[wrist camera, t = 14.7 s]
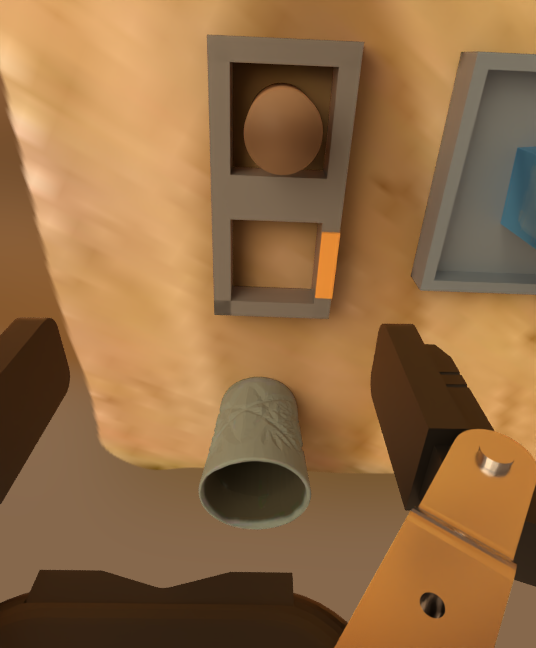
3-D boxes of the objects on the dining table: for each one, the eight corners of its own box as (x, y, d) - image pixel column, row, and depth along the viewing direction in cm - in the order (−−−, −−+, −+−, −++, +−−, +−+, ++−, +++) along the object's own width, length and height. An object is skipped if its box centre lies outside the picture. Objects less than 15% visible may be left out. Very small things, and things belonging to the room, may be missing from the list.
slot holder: (212, 36, 32) (206, 34, 29) (356, 43, 32) (364, 41, 29) (217, 299, 43) (214, 316, 40) (325, 303, 43) (329, 320, 40)
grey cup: (319, 393, 49) (332, 482, 39) (275, 450, 54) (276, 543, 44) (237, 358, 47) (228, 443, 36) (198, 420, 51) (180, 511, 41)
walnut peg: (249, 81, 33) (244, 87, 27) (315, 84, 34) (327, 91, 27) (248, 151, 36) (243, 173, 29) (309, 153, 36) (318, 176, 29)
